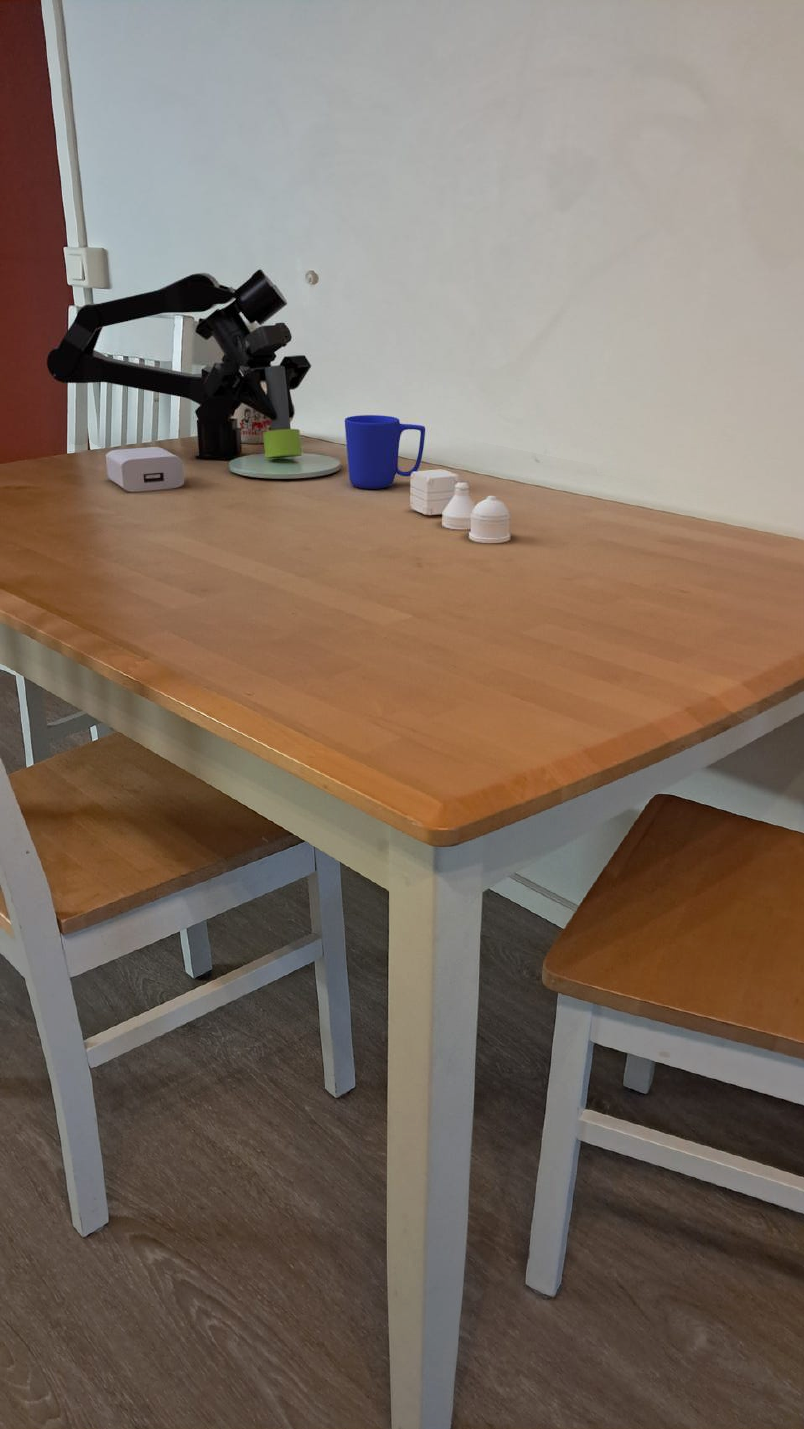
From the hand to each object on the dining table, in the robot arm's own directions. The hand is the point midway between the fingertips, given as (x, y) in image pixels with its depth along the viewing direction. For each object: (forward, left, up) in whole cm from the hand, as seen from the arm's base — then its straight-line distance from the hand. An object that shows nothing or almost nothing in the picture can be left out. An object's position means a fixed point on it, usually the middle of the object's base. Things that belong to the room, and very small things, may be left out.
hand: (283, 417), depth 172 cm
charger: (-19, -15, -8) cm, 26 cm away
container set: (+32, -33, -8) cm, 47 cm away
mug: (+18, -11, -8) cm, 23 cm away
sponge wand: (0, -1, -6) cm, 6 cm away
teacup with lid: (-11, +25, -8) cm, 29 cm away
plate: (0, -2, -8) cm, 8 cm away
